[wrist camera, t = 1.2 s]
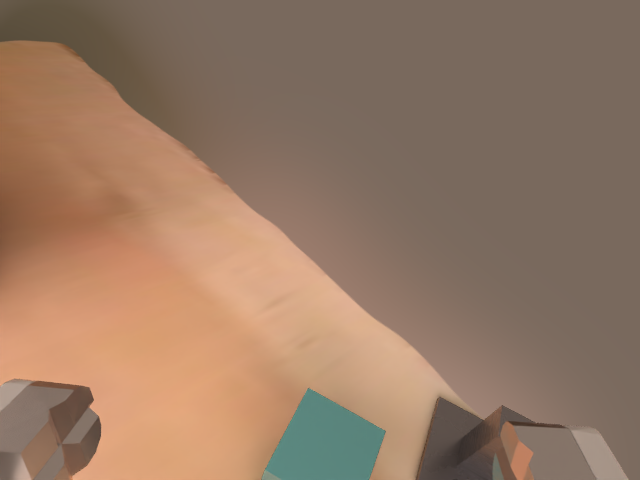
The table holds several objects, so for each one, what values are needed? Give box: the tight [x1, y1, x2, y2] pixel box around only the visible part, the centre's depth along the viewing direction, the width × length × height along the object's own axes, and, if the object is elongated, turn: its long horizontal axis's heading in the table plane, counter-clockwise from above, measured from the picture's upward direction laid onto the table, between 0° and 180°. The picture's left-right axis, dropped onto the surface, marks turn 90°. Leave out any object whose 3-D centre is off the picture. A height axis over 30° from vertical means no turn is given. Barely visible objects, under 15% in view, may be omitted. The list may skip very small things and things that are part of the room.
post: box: [416, 397, 535, 480], centre depth 34 cm, size 8×8×8 cm
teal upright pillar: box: [261, 388, 386, 480], centre depth 29 cm, size 6×6×10 cm
